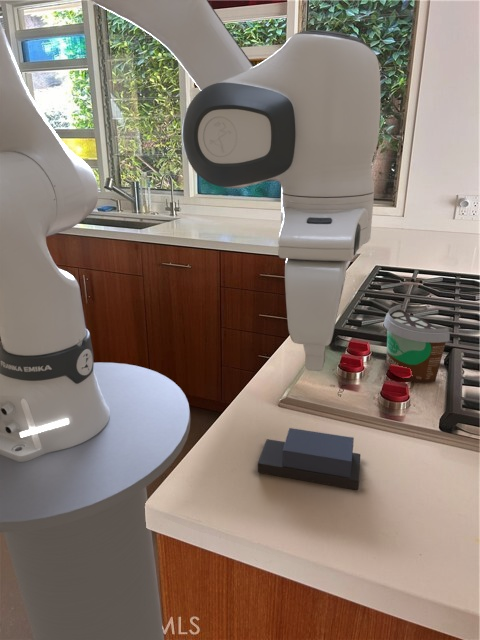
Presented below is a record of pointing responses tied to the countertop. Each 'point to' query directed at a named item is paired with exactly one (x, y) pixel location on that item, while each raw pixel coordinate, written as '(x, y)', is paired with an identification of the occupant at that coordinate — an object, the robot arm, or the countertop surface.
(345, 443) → the stepped blue block
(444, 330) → the food container
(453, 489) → the countertop surface
